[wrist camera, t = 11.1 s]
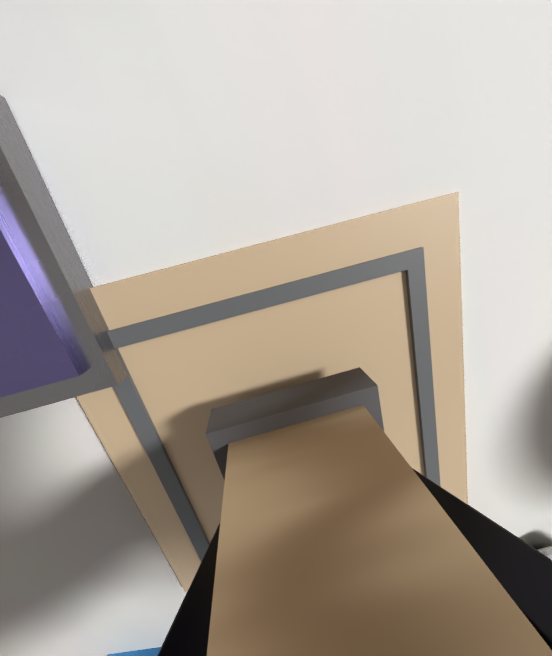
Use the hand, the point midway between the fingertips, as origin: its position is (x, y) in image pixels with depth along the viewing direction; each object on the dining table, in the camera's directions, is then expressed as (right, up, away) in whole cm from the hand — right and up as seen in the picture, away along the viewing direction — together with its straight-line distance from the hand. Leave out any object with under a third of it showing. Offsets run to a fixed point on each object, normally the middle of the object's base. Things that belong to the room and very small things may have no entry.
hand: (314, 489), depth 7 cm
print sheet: (0, +1, +3) cm, 3 cm away
